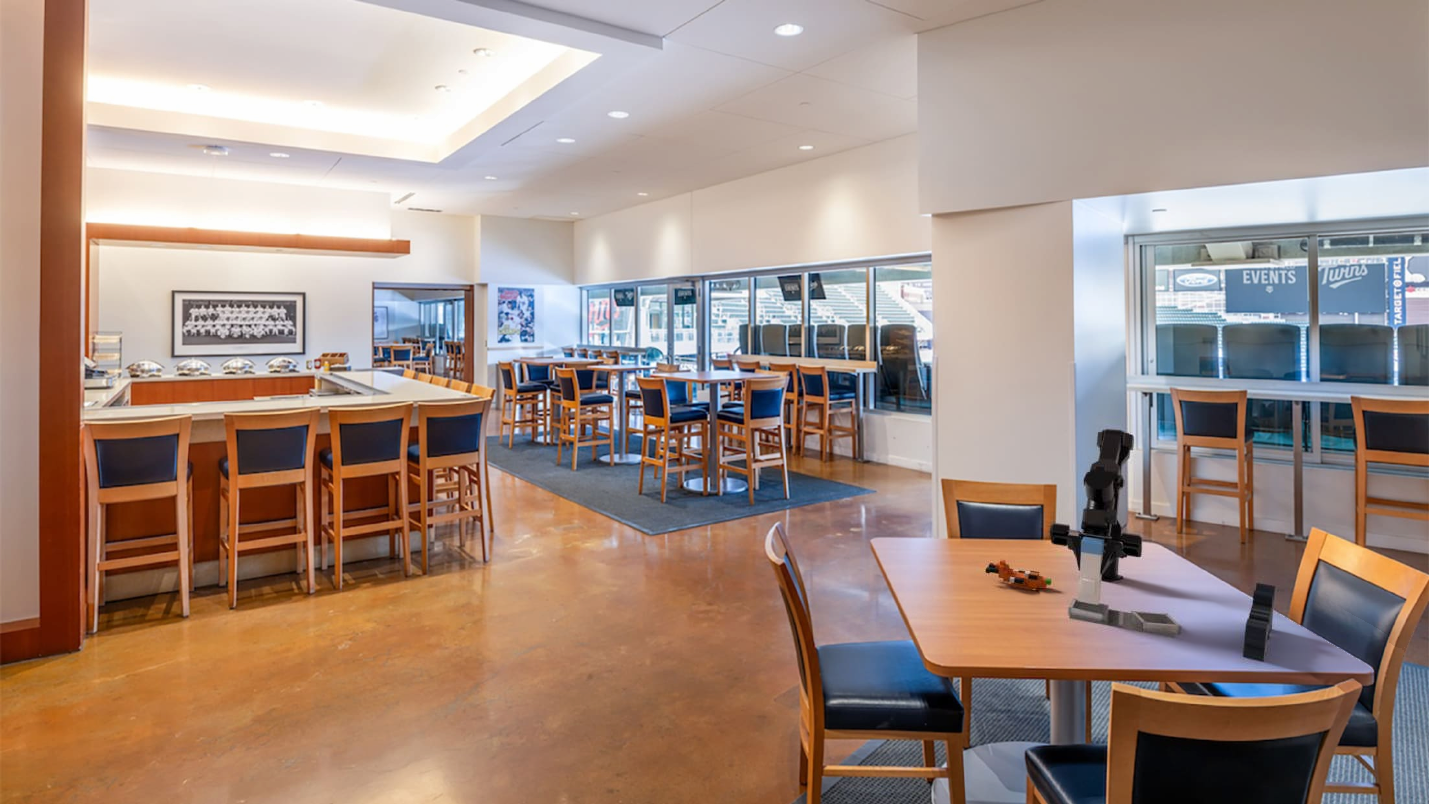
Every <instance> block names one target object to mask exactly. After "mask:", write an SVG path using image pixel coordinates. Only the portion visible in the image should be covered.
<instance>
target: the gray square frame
mask: <svg viewBox="0 0 1429 804" xmlns="http://www.w3.org/2000/svg"><path fill="white" fill-rule="evenodd" d="M1130 613H1131V618H1132V620H1133V621H1134V622H1135V623H1136V624H1137V625H1138V626H1139V627H1140V628H1141V629H1142V630H1143V631H1155V632H1166V633H1174V634H1175V635H1177V634H1178V635H1181V634H1182V625H1181V624H1179V623H1178V622H1177V621H1176V620H1175V618H1173V617H1172V616H1171V615H1170V614H1168V613H1164V612H1153V611H1152V612H1151V611H1140V610H1139V611H1138V610H1130ZM1144 620H1153V621H1165V622H1166V623H1167V624H1160V623H1148V622H1145V621H1144Z"/></svg>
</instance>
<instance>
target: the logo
mask: <svg viewBox="0 0 1429 804" xmlns="http://www.w3.org/2000/svg"><path fill="white" fill-rule="evenodd" d="M1275 593H1276V586H1275V585H1271V584H1265V583H1260V582H1256V584H1255V589H1254V590H1253V593H1252V595H1253V596H1252V604H1251V607H1250V611H1249V613H1248V617H1247V619H1246V623H1245V627H1244V628H1245V629H1244V641H1243V652H1242V657H1243V658H1246V659H1249V660H1254V661H1259V662H1264V660H1265V657H1266V653H1267V649H1268V645H1269V640H1270V636H1271V631H1272V628H1273V618H1274V607H1275V606H1274V605H1275Z"/></svg>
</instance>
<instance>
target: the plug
mask: <svg viewBox="0 0 1429 804" xmlns="http://www.w3.org/2000/svg"><path fill="white" fill-rule="evenodd" d="M1103 549H1104V540H1103V539H1096V538H1089V537H1083V539H1082V541H1081V562H1080V571H1079V583H1078V595H1077V596H1078V598H1077V599H1078V601H1080V602H1085V603H1090V604H1096V605H1098V604H1099V603H1100V602H1101V594H1102V593H1101V589H1102V579H1101V577H1102V575H1101V574H1100V569H1101V564H1102V560H1103Z"/></svg>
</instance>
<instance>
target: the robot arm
mask: <svg viewBox="0 0 1429 804" xmlns="http://www.w3.org/2000/svg"><path fill="white" fill-rule="evenodd" d="M1096 436H1097V437H1096V447H1097V449H1098V448H1099V456H1098V460H1097V461H1095V462H1093V463H1092V464H1091V465H1090V469H1089V471H1087V472H1086V473H1085V475H1084V478H1083V485H1084V486H1085V496H1086V498H1087V500H1086V507H1085V508H1083V509H1082V518H1081V525H1080V529H1081V530H1082V531H1080V530H1076V529H1073V528H1072V529H1071V527H1070V524H1063V523H1057V522H1053V523H1052V524H1051V525H1050V527H1049V537H1050V543H1051V544H1052V545H1056V546H1061V547H1062V546H1063V547H1067V549H1068V550H1069V551H1072V552H1073V555H1074V557H1075V559H1076V564H1077V569H1078V571H1079V572H1080V562H1081V541H1082V539H1083V537H1089V538H1096V539H1103V540H1104V549H1103V560H1102V564H1101V569H1100V574H1101V575H1102V577H1101V581H1105V582H1112V581H1117V580H1122V579H1124V576H1123V575H1120V574H1119V565H1120V564H1119V563H1120V562H1119V561H1120V559H1123V560H1124V558H1128V557H1133V558H1141V557H1142V553H1143V537H1142V536H1141V535H1140V534H1136V533H1129V532H1124V530H1123V528H1122V525H1121V523H1120V521H1119V519H1118V513H1119V512H1118V511H1119V504H1120V503H1119V501H1120V495H1121V494H1120V493H1121V490H1122V489H1123V488H1124V486H1125V484H1126V480H1125V479H1124V477H1123V475H1122V473H1123V472H1122V471H1123V467H1124V464H1126V462H1127V461H1128V460H1129V459H1130V457H1131V451H1133V450H1134V446H1135V445H1134V444H1135V437H1134V435H1133V434H1131V433H1130V432H1125V431H1124V430H1122V429H1114V428H1113V429H1111V428H1105V429H1102V431H1098V432H1097V435H1096Z"/></svg>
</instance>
